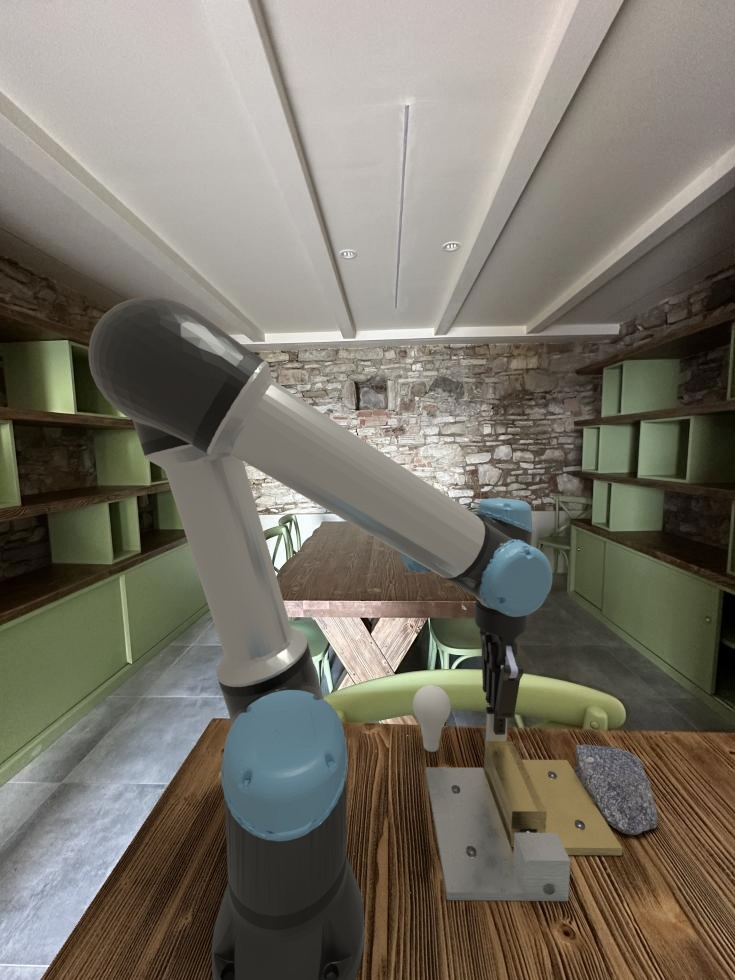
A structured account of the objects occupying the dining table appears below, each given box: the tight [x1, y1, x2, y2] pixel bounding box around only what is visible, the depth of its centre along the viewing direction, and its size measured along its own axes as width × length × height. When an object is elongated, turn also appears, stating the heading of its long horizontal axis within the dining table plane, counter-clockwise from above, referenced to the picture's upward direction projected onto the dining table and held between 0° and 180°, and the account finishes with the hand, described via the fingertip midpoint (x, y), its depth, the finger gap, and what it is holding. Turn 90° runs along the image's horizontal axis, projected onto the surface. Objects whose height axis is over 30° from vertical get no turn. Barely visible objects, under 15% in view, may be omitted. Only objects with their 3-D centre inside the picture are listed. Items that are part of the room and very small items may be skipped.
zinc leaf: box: [425, 730, 571, 902], centre depth 56 cm, size 14×24×5 cm, turn 0°
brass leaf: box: [483, 740, 623, 856], centre depth 56 cm, size 13×14×5 cm
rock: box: [573, 743, 658, 836], centre depth 57 cm, size 12×5×10 cm
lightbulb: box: [412, 684, 451, 753], centre depth 66 cm, size 6×6×11 cm
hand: (495, 746), depth 63 cm, fingers closed
